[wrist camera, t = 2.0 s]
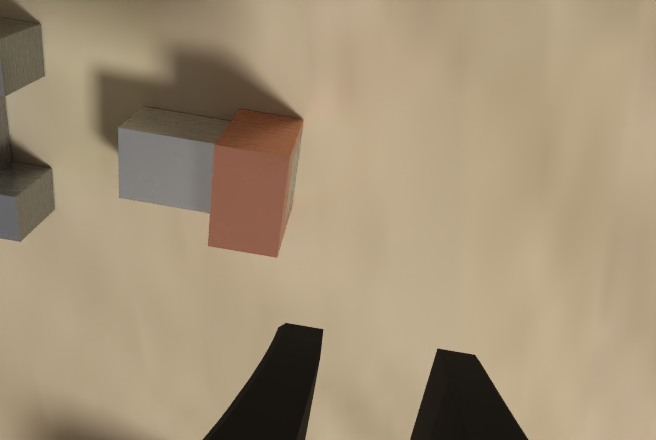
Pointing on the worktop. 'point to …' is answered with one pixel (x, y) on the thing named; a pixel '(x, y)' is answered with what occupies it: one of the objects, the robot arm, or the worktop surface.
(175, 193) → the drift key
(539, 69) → the worktop surface
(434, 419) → the robot arm
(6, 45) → the socket
